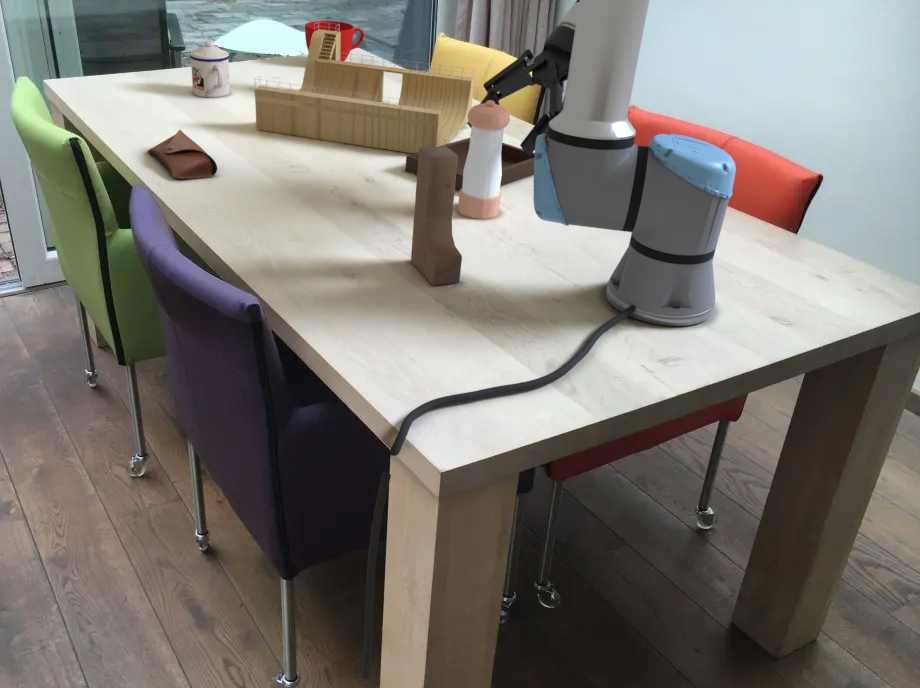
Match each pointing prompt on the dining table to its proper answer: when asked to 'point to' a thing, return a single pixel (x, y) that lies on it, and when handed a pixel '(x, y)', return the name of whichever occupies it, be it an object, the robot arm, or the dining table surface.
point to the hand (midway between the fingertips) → (497, 139)
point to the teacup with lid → (210, 71)
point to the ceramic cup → (345, 30)
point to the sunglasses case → (184, 158)
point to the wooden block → (435, 217)
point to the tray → (512, 162)
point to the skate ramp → (365, 102)
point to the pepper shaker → (483, 162)
